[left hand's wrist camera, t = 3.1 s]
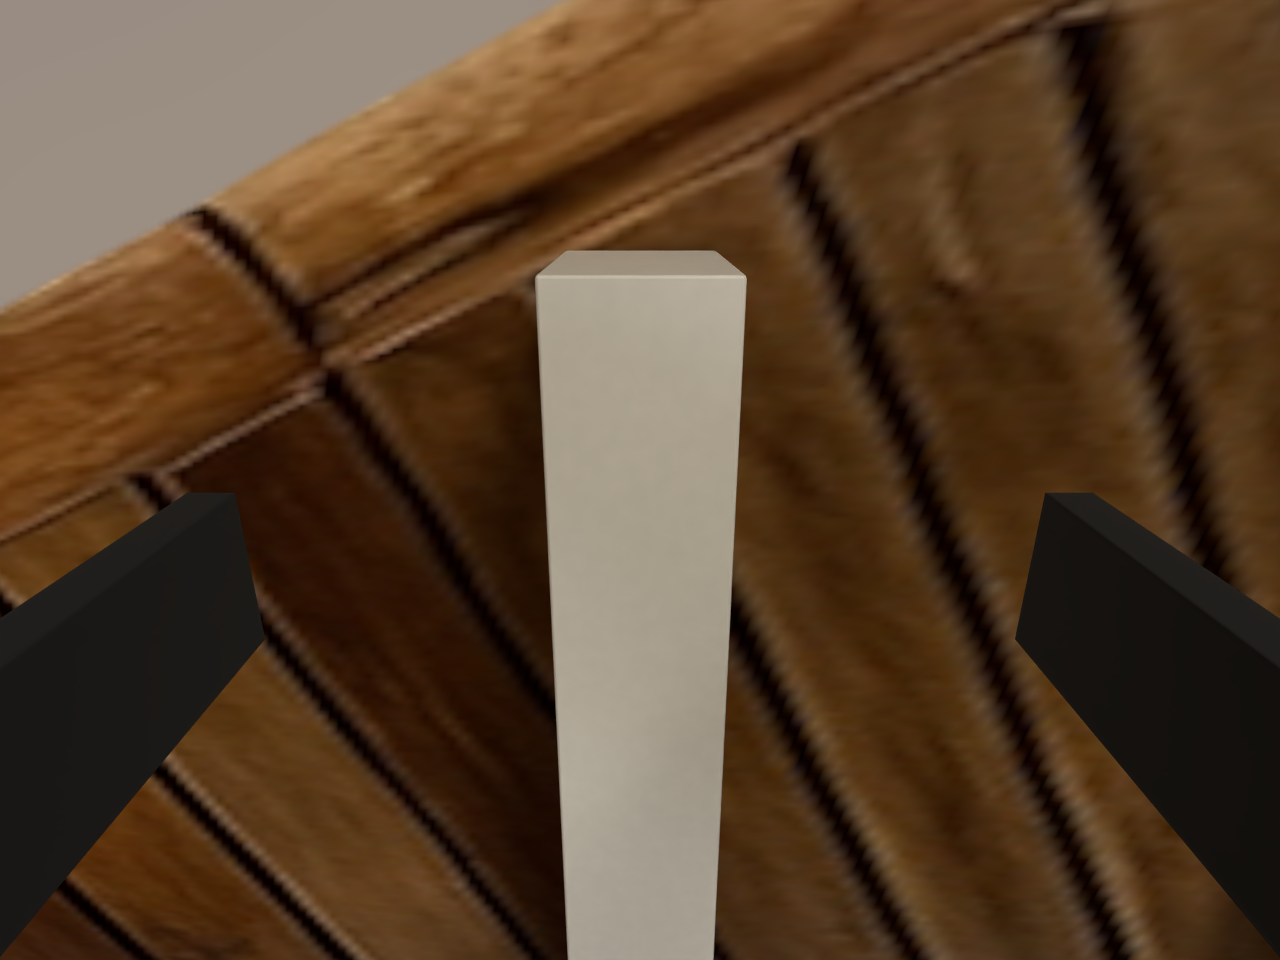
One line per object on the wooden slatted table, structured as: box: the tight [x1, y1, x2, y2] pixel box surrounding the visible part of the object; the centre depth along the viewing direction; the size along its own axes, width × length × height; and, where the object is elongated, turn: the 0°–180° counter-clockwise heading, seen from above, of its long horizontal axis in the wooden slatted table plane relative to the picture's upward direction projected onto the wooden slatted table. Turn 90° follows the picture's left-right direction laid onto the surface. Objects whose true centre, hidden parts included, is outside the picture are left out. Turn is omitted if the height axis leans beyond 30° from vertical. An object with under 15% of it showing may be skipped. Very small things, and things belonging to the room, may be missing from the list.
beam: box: [535, 251, 747, 960], centre depth 27 cm, size 34×5×8 cm, turn 0°
